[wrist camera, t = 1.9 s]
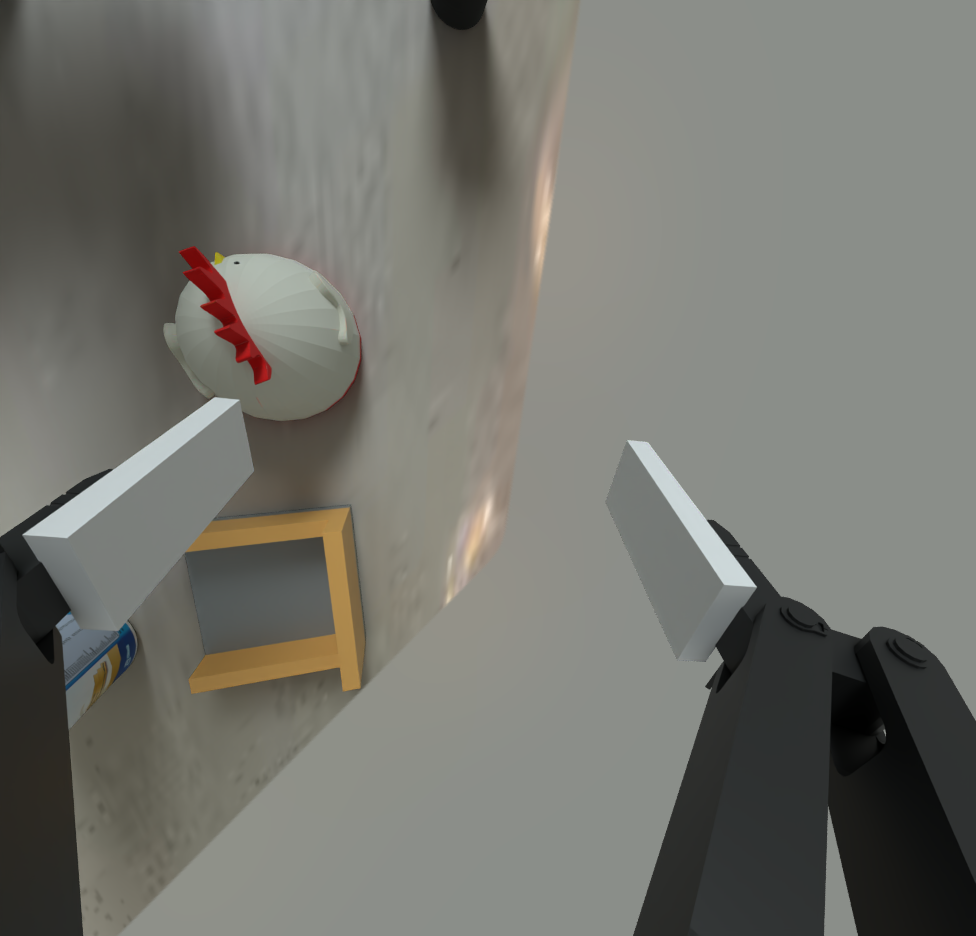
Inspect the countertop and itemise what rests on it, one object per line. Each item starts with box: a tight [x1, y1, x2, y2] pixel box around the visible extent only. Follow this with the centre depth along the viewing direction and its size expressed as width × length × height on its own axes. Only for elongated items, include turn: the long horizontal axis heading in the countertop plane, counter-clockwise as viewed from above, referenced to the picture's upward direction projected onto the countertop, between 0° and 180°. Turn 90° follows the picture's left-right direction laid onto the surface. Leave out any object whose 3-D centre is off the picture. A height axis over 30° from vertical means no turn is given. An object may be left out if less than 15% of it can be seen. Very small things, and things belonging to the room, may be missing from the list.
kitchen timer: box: [163, 246, 361, 421], centre depth 30 cm, size 14×14×15 cm
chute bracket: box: [185, 505, 366, 694], centre depth 38 cm, size 15×15×8 cm
